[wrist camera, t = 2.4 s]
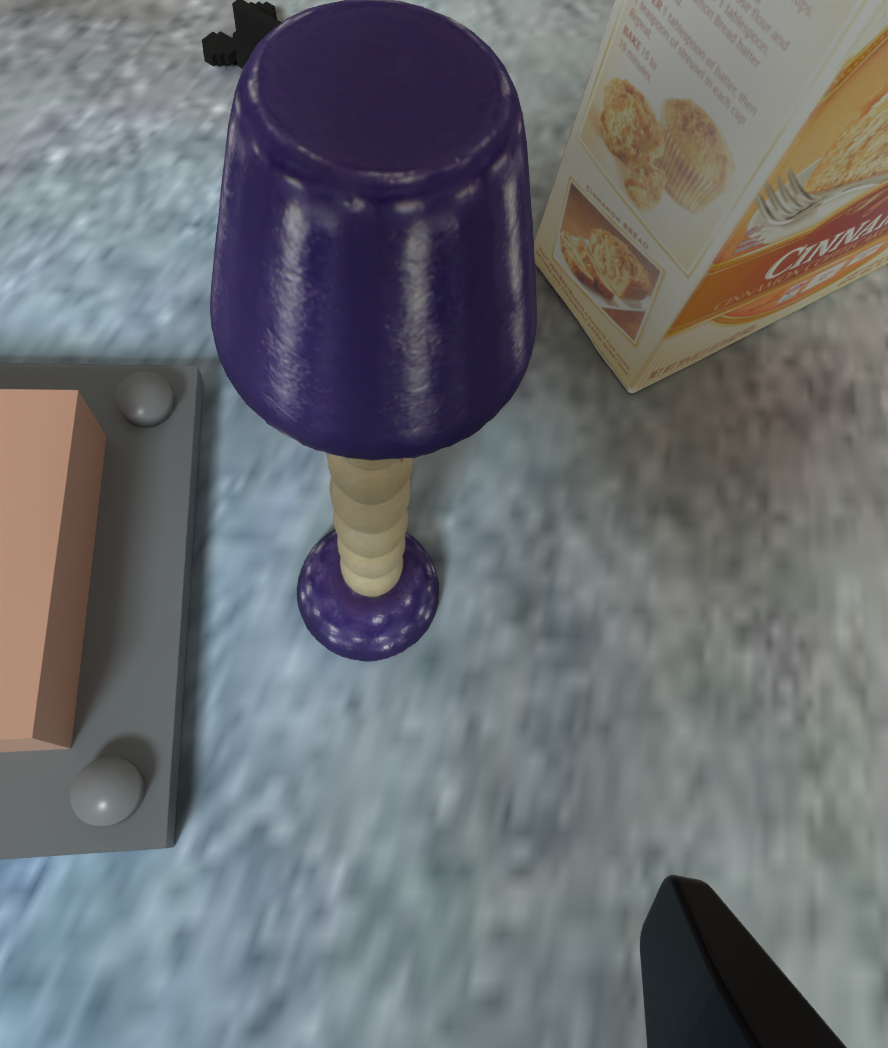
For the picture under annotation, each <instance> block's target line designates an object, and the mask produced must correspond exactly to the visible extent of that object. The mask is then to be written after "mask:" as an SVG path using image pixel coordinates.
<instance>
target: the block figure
mask: <svg viewBox="0 0 888 1048" xmlns="http://www.w3.org/2000/svg"><path fill="white" fill-rule="evenodd" d="M232 5H233V12H234V19H235V26H236V32H234V33H233V38H231V37H229V36H228V35H226V34H224V33H222V32H221V31H220V32H219V33H218V34H216V33H214V32H211V33H210V34H209V35H208V36H206V37H205V38H204V39H202V44H203V45H202V46H203V53H204V58H205V62H207V63H209V64H210V65H212V66H215V65H216V64H219V65H221V66H223V65H224V64H225V63H226V64H227V65H229V66H230V65H231V64H233V63H234V62H235V61H236V60H237V66H239V67H241V68H242V69H243V68H244V66H245V64H246V62H247V61H248V59H249V57H250V55H251V54H252V52H253V50H254V49H255V47H256V46H257V44H258V43H259V42H260V41H261V40H262V39H263V38H264V37H265V36H266V35H267V34H268V33H269V32H270V31H271V30H273V29H274V28H275V27H277V26H278V25H279V24H281V22H280V21H278V20H277V17H276V11H275V6H273V5H272V4H270V3H268V2H265V3H264V4H262V3H260V2H258V3H256V4H254V3H252V2H250V3H247V2H245V1H244V0H236V1H235V2H234V3H232Z"/></svg>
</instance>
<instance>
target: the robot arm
mask: <svg viewBox="0 0 888 1048" xmlns="http://www.w3.org/2000/svg"><path fill="white" fill-rule="evenodd" d="M640 957H641V970H642V983H643V996H644V1010H645V1023H646V1036H647V1048H847V1047H846V1046H845V1045H844V1044H843V1043H842V1042H841V1040H840V1039H839V1038H838V1037H837V1036H836V1034H835V1033H834V1032H833V1031H832V1030H831V1029H830V1027H829V1026H828V1025H827V1024H826V1023H825V1021H824V1020H823V1019H822V1018H821V1017H820V1016H819V1014H818V1013H817V1012H816V1011H815V1010H814V1008H813V1007H812V1006H811V1005H810V1004H809V1003H808V1001H807V1000H806V999H805V998H804V997H803V995H802V994H801V993H800V992H799V991H798V990H797V988H796V987H795V986H794V985H793V984H792V982H791V981H790V980H789V979H788V978H787V977H786V975H785V974H784V973H783V972H782V971H781V969H780V968H779V967H778V966H777V965H776V964H775V962H774V961H773V960H772V959H771V958H770V956H769V955H768V954H767V953H766V952H765V951H764V949H763V948H762V947H761V946H760V945H759V943H758V942H757V941H756V940H755V939H754V938H753V936H752V935H751V934H750V933H749V932H748V930H747V929H746V928H745V927H744V926H743V925H742V923H741V922H740V921H739V920H738V919H737V917H736V916H735V915H734V914H733V913H732V911H731V910H730V909H729V908H728V907H727V906H726V904H725V903H724V902H723V901H722V900H721V898H720V897H719V896H718V895H717V894H716V893H715V891H714V890H713V889H712V888H711V887H710V886H709V885H708V884H707V883H705V882H703V881H701V880H697V879H692V878H687V877H682V876H677V875H670V876H668V877H666V878H665V879H664V881H663V882H662V884H661V886H660V888H659V890H658V893H657V895H656V897H655V899H654V902H653V904H652V906H651V908H650V910H649V913H648V915H647V917H646V919H645V922H644V924H643V927H642V931H641V937H640Z"/></svg>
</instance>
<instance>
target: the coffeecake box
mask: <svg viewBox="0 0 888 1048" xmlns="http://www.w3.org/2000/svg"><path fill="white" fill-rule="evenodd" d="M534 257H535V264H536V265H537V267H538V268H539V269H540V271H541V272H542V273H543V275H544V276H545V277H546V279H547V280H548V281H549V283H550V284H551V285H552V287H553V288H554V289H555V291H556V292H557V293H558V294H559V296H560V297H561V298H562V299H563V301H564V302H565V303H566V305H567V306H568V308H569V309H570V310H571V312H572V313H573V315H574V316H575V317H576V319H577V320H578V321H579V323H580V324H581V326H582V328H583V329H584V331H585V332H586V334H587V335H588V337H589V338H590V340H591V341H592V343H593V345H594V346H595V348H596V349H597V351H598V352H599V354H600V355H601V356H602V358H603V359H604V360H605V362H606V363H607V364H608V366H609V367H610V368H611V369H612V371H613V372H614V373H615V375H616V376H617V378H618V379H619V380H620V382H621V383H622V384H623V386H624V387H625V388H626V390H627V391H628V393H635V392H637V391H639V390H641V389H643V388H645V387H647V386H649V385H651V384H653V383H655V382H657V381H659V380H661V379H663V378H665V377H667V376H669V375H671V374H673V373H675V372H677V371H679V370H682V369H684V368H686V367H688V366H690V365H692V364H694V363H696V362H697V361H699V360H701V359H703V358H705V357H707V356H709V355H711V354H713V353H715V352H717V351H719V350H721V349H723V348H724V347H726V346H728V345H730V344H732V343H734V342H736V341H738V340H740V339H742V338H744V337H746V336H748V335H750V334H752V333H754V332H756V331H758V330H760V329H762V328H764V327H766V326H768V325H770V324H772V323H774V322H776V321H777V320H779V319H781V318H783V317H785V316H787V315H789V314H791V313H793V312H795V311H797V310H799V309H801V308H803V307H805V306H807V305H809V304H810V303H812V302H814V301H816V300H818V299H820V298H822V297H824V296H826V295H828V294H830V293H832V292H834V291H835V290H837V289H839V288H841V287H843V286H845V285H847V284H849V283H851V282H853V281H855V280H857V279H859V278H861V277H863V276H865V275H867V274H869V273H871V272H872V271H874V270H876V269H878V268H880V267H882V266H884V265H886V264H888V0H615V3H614V6H613V8H612V11H611V14H610V17H609V20H608V23H607V26H606V29H605V32H604V35H603V38H602V41H601V44H600V47H599V50H598V53H597V56H596V59H595V62H594V65H593V68H592V71H591V74H590V77H589V80H588V83H587V86H586V89H585V92H584V95H583V98H582V101H581V104H580V107H579V110H578V113H577V116H576V119H575V122H574V125H573V128H572V131H571V134H570V137H569V140H568V143H567V146H566V148H565V151H564V155H563V158H562V161H561V164H560V168H559V170H558V173H557V176H556V179H555V182H554V185H553V188H552V191H551V194H550V197H549V200H548V203H547V206H546V209H545V212H544V215H543V218H542V221H541V224H540V226H539V229H538V233H537V236H536V239H535V242H534Z"/></svg>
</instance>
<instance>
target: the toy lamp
mask: <svg viewBox="0 0 888 1048" xmlns="http://www.w3.org/2000/svg"><path fill="white" fill-rule="evenodd" d="M210 314H211V326H212V331H213V335H214V341H215V345H216V349H217V352H218V356H219V359H220V362H221V364H222V366H223V368H224V370H225V373H226V375H227V377H228V378H229V380H230V381H231V383H232V384H233V386H234V387H235V389H236V390H237V392H238V393H239V395H240V396H241V397H242V399H243V400H244V401H245V403H246V404H247V405H248V406H249V407H250V408H251V409H252V410H253V411H255V412H256V413H257V414H258V415H259V416H260V417H261V418H263V419H264V420H265V421H266V422H267V424H269V425H270V426H272V427H274V428H275V429H277V430H278V431H280V432H281V433H282V434H284V435H287V436H289V437H291V438H293V439H295V440H297V441H298V442H300V443H301V444H303V445H305V446H308V447H310V448H313V449H315V450H318V451H324V452H326V453H327V458H328V466H329V470H330V474H331V481H330V495H331V499H332V504H333V506H334V517H333V518H334V526H335V530H334V531H332V532H330V533H329V534H327V535H326V536H325V537H323V538H322V539H321V540H320V541H319V542H318V543H317V544H316V545H315V546H314V547H313V549H312V550H311V552H310V553H309V554H308V556H307V558H306V560H305V562H304V564H303V567H302V569H301V572H300V575H299V579H298V585H297V601H298V607H299V610H300V613H301V616H302V618H303V620H304V622H305V624H306V627H307V629H308V630H309V631H310V633H311V634H312V635H313V636H314V637H315V638H316V640H317V641H319V642H320V643H321V644H322V645H324V646H325V647H326V648H327V649H328V650H330V651H332V652H334V653H336V654H337V655H340V656H342V657H346V658H349V659H353V660H360V661H377V660H381V659H386V658H389V657H391V656H394V655H397V654H398V653H401V652H403V651H404V650H406V649H407V648H408V647H410V646H411V645H413V644H414V643H416V642H417V641H418V640H419V639H420V638H421V637H422V636H423V634H424V633H425V632H426V631H427V630H428V628H429V626H430V624H431V622H432V620H433V618H434V616H435V613H436V609H437V605H438V596H439V583H438V578H437V574H436V570H435V567H434V565H433V563H432V561H431V559H430V557H429V555H428V554H427V552H426V551H425V549H424V548H423V547H422V545H421V544H420V543H419V542H418V541H417V540H416V539H415V538H414V537H413V536H411V535H410V534H408V533H407V532H406V530H407V527H408V509H407V507H408V505H409V502H410V493H411V484H410V479H409V478H410V476H411V473H412V469H413V464H414V458H415V457H418V456H421V455H426V454H430V453H433V452H435V451H437V450H439V449H442V448H445V447H449V446H451V445H453V444H455V443H457V442H459V441H461V440H463V439H466V438H468V437H470V436H471V435H473V434H474V433H476V432H477V431H479V430H480V429H481V428H482V427H483V426H484V425H485V424H486V423H487V422H488V421H490V420H491V419H493V418H494V417H495V416H496V414H497V413H498V412H499V411H500V410H501V409H502V407H503V406H504V405H505V404H506V403H507V402H508V401H509V400H510V399H511V397H512V396H513V394H514V393H515V391H516V390H517V388H518V386H519V384H520V382H521V380H522V378H523V376H524V374H525V372H526V370H527V367H528V364H529V360H530V357H531V354H532V350H533V345H534V340H535V332H536V321H537V306H536V281H535V257H534V240H533V222H532V211H531V197H530V182H529V166H528V152H527V141H526V134H525V127H524V120H523V114H522V110H521V106H520V102H519V98H518V94H517V91H516V89H515V87H514V84H513V82H512V80H511V78H510V76H509V74H508V72H507V70H506V68H505V66H504V65H503V63H502V62H501V61H500V59H499V58H498V57H497V56H496V54H495V53H494V52H493V50H492V49H491V48H490V47H489V46H488V45H487V44H486V43H485V42H484V41H482V40H481V39H480V38H479V37H478V36H477V35H476V34H475V33H473V32H472V31H471V30H469V29H468V28H466V27H465V26H463V25H462V24H460V23H458V22H456V21H455V20H453V19H451V18H449V17H447V16H444V15H442V14H439V13H436V12H434V11H431V10H429V9H426V8H424V7H421V6H417V5H413V4H409V3H405V2H401V1H394V0H344V1H339V2H334V3H329V4H324V5H320V6H316V7H313V8H309V9H306V10H304V11H302V12H300V13H298V14H296V15H293V16H291V17H289V18H287V19H286V20H285V21H283V22H282V23H281V24H279V25H278V26H277V27H275V28H274V29H273V30H271V31H270V32H269V33H268V34H267V35H266V36H265V37H264V38H263V39H262V40H261V41H260V42H259V43H258V44H257V46H256V47H255V49H254V50H253V52H252V54H251V55H250V57H249V59H248V61H247V62H246V64H245V66H244V68H243V70H242V72H241V75H240V78H239V81H238V84H237V87H236V90H235V94H234V99H233V104H232V109H231V114H230V119H229V124H228V132H227V141H226V151H225V160H224V168H223V176H222V186H221V195H220V206H219V216H218V225H217V233H216V242H215V253H214V264H213V273H212V284H211V300H210Z"/></svg>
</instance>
